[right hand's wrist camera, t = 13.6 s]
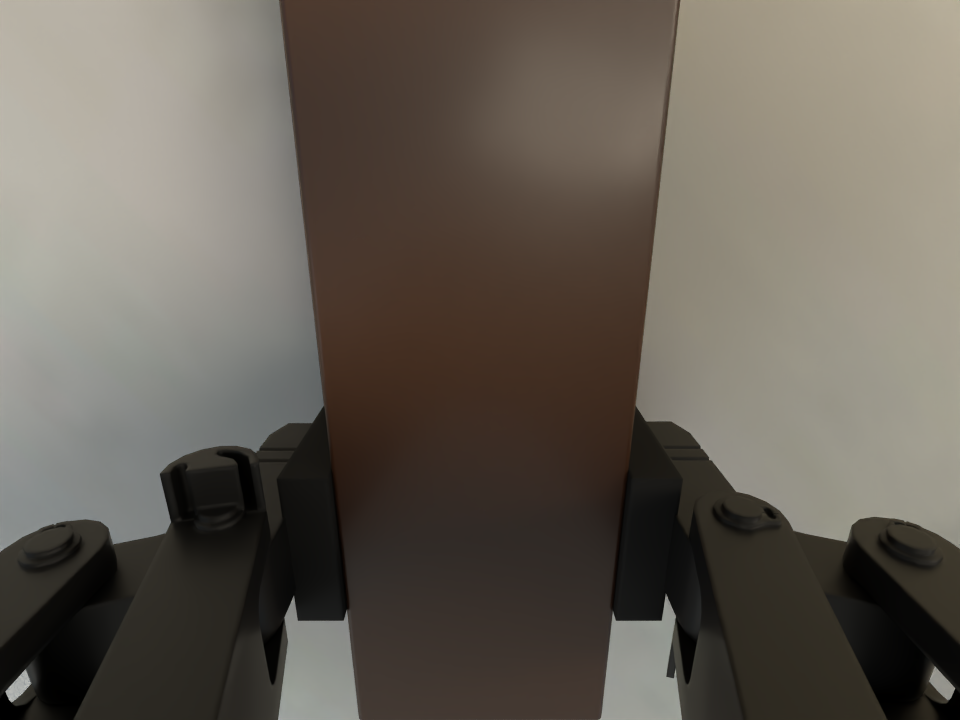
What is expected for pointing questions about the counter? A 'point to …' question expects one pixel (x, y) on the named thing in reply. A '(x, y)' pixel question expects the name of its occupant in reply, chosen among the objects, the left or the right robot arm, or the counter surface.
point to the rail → (479, 330)
